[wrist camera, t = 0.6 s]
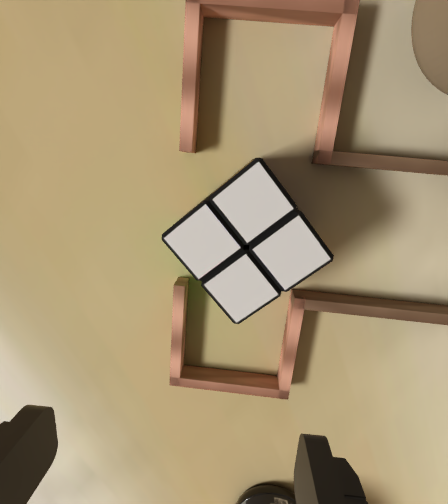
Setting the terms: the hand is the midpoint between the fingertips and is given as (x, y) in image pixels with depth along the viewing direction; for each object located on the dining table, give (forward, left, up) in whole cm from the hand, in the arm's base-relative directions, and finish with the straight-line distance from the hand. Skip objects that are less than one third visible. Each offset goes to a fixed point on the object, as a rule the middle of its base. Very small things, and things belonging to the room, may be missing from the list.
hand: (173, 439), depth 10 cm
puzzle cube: (-2, +2, -26) cm, 26 cm away
